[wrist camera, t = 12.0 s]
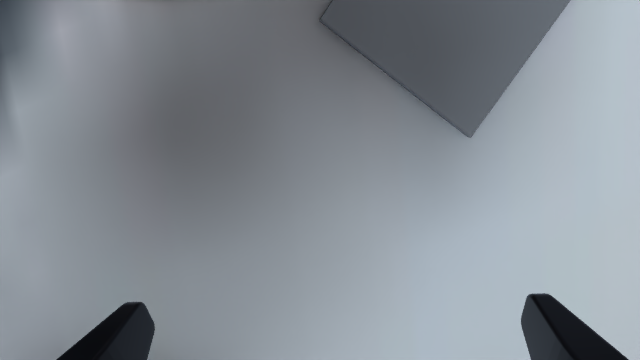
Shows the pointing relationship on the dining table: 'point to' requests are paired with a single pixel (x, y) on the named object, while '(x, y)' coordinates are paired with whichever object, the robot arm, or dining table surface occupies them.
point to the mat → (447, 47)
